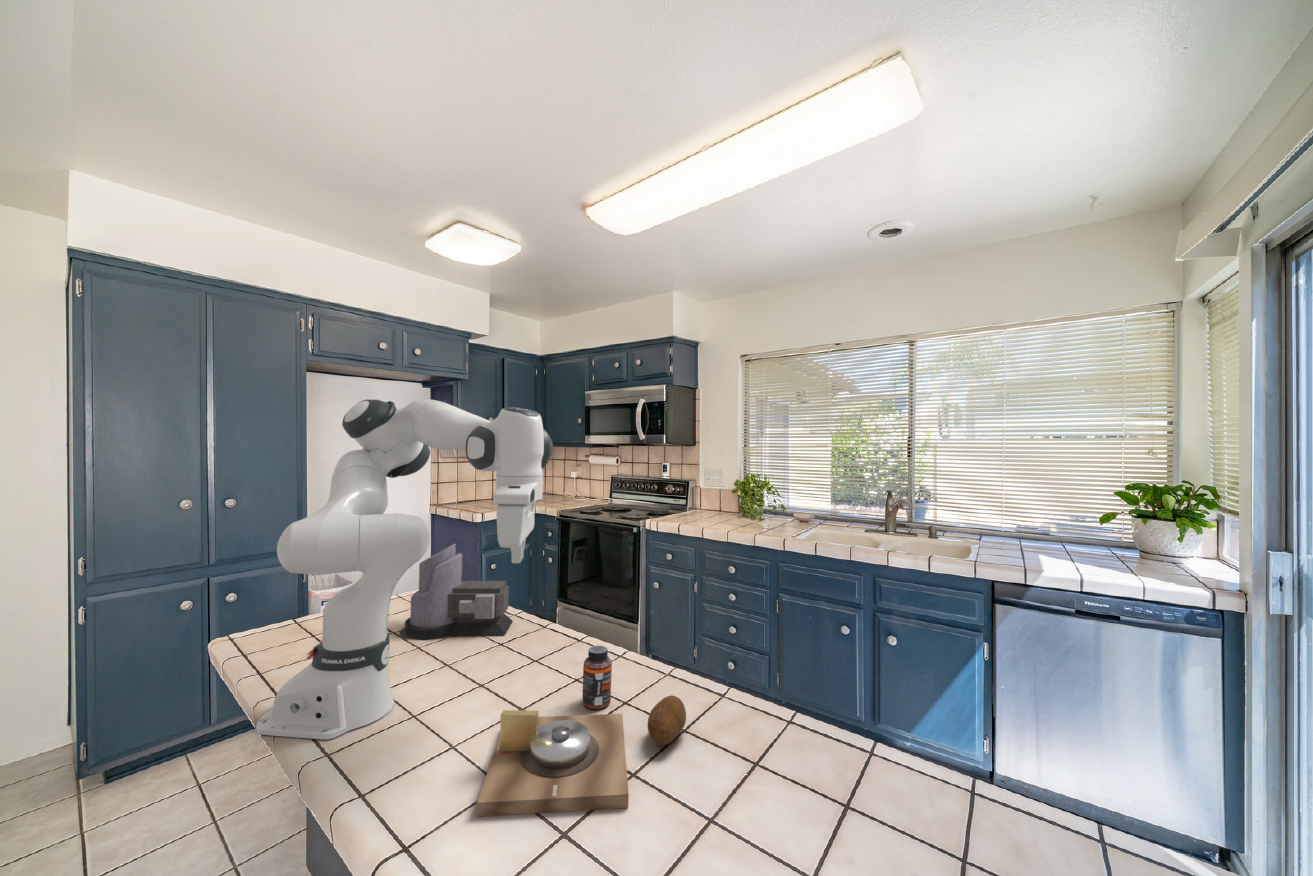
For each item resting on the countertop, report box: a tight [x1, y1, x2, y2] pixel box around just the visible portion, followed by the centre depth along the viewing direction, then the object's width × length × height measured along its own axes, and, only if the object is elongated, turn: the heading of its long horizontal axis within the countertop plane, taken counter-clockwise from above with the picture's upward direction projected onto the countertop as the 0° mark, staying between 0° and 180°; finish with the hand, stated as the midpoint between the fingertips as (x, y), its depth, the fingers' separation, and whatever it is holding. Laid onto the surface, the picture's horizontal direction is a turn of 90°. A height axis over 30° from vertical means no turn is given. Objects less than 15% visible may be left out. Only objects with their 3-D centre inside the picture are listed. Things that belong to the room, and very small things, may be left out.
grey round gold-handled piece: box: [499, 709, 590, 768], centre depth 83 cm, size 15×10×6 cm, turn 91°
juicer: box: [398, 543, 514, 641], centre depth 141 cm, size 30×16×24 cm, turn 95°
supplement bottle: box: [581, 645, 613, 710], centre depth 103 cm, size 6×6×11 cm
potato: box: [647, 695, 687, 746], centre depth 91 cm, size 7×12×7 cm, turn 165°
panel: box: [475, 713, 630, 818], centre depth 83 cm, size 22×22×2 cm
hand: (517, 561), depth 95 cm, fingers closed
